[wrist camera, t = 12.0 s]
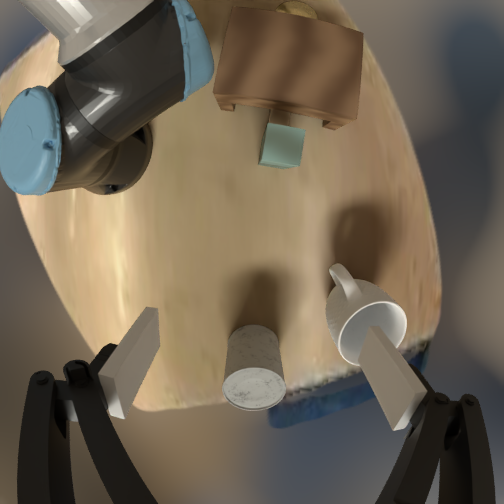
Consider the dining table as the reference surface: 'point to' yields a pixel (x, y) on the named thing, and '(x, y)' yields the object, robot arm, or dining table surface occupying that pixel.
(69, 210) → the dining table surface
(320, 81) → the wooden bench
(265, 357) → the speckled white cylinder
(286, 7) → the token
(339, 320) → the mug
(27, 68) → the dining table surface
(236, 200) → the dining table surface
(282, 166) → the sweep tool
